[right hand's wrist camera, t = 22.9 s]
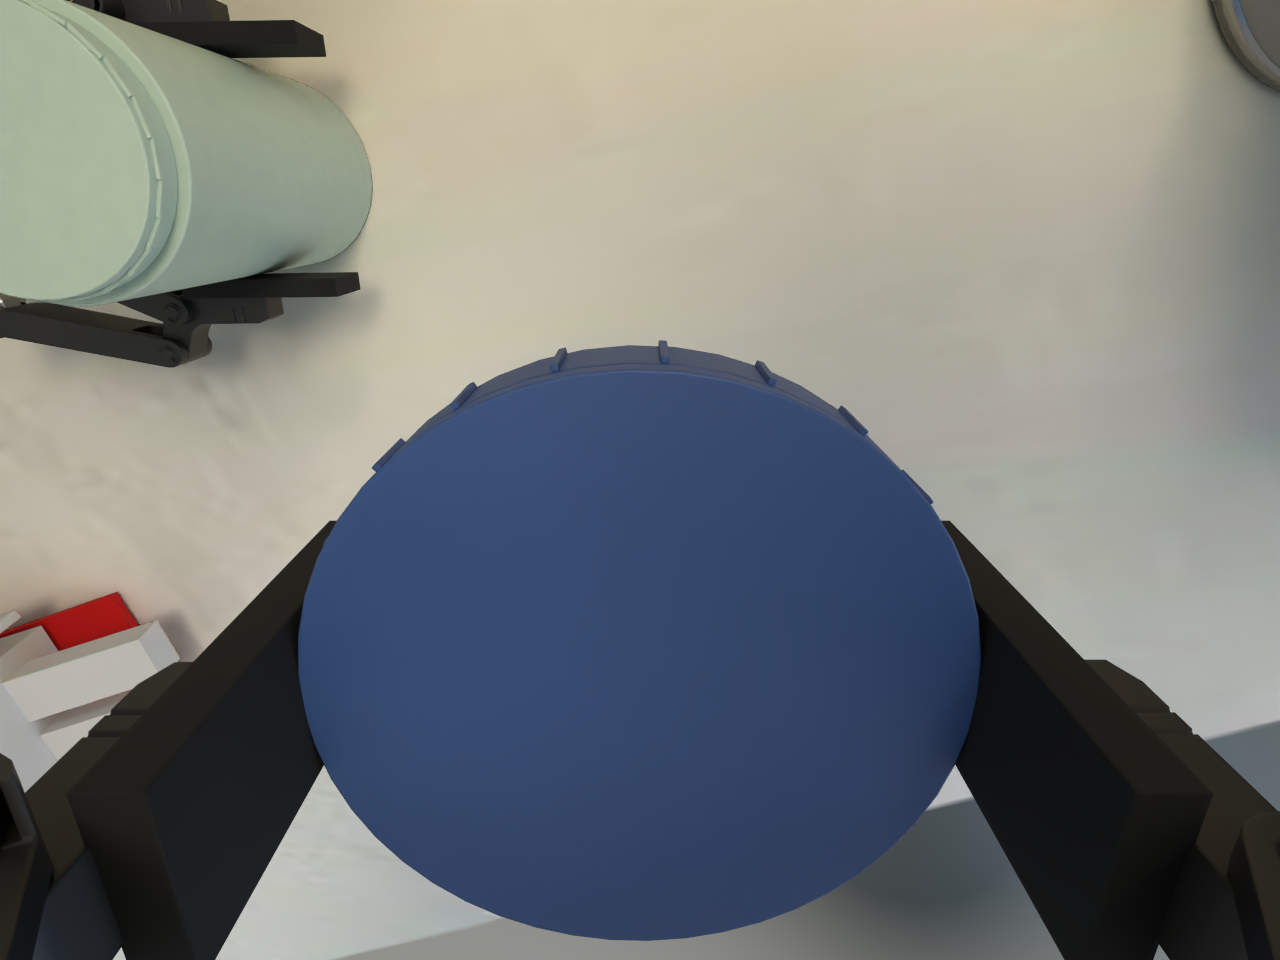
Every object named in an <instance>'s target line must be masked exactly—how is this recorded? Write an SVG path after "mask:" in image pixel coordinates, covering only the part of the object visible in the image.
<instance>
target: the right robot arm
mask: <svg viewBox="0 0 1280 960" xmlns="http://www.w3.org/2000/svg"><path fill="white" fill-rule="evenodd" d="M1212 3H1213V7H1214V11H1215V15H1216V18H1217V21H1218V23H1219V26H1220V29H1221V32H1222V34H1223V36H1224V37H1225V39H1226V41H1227V43H1228V45H1229V47H1230V48H1231V50H1232V51H1233V53H1234V54H1235V56H1236V57H1237V59H1238V60H1239V61H1240V62H1241V63H1242V64H1243V65H1244V67H1245V68H1246V69H1247V70H1248V71H1249V72H1251V73H1252V74H1253V75H1254V76H1255V77H1256V78H1257V79H1259V80H1260V81H1262V82H1263V83H1265V84H1266V85H1268V86H1269V87H1271V88H1273V89H1275V90H1277V91H1279V92H1280V0H1212ZM941 522H942V524H943V525H944V527H945V528H946V530H947V532H948V533H949V535H950V537H951V538H952V540H953V541H954V544H955V546H956V549H957V551H958V553H959V556H960V558H961V561H962V563H963V565H964V568H965V570H966V573H967V575H968V577H969V580H970V585H971V589H972V593H973V597H974V601H975V606H976V610H977V614H978V620H979V634H980V648H981V665H980V676H979V687H978V693H977V698H976V703H975V708H974V712H973V717H972V721H971V725H970V729H969V732H968V734H967V737H966V739H965V742H964V744H963V747H962V749H961V751H960V754H959V756H958V759H957V761H956V764H955V765H956V766H957V768H958V770H959V772H960V774H961V775H962V777H963V779H964V781H965V783H966V784H967V786H968V788H969V790H970V792H971V793H972V795H973V797H974V799H975V800H976V802H977V804H978V806H979V808H980V809H981V811H982V813H983V815H984V817H985V818H986V820H987V822H988V824H989V825H990V827H991V829H992V831H993V833H994V834H995V836H996V838H997V840H998V842H999V843H1000V845H1001V847H1002V849H1003V851H1004V852H1005V854H1006V856H1007V858H1008V859H1009V861H1010V863H1011V865H1012V867H1013V868H1014V870H1015V872H1016V874H1017V876H1018V877H1019V879H1020V881H1021V883H1022V884H1023V886H1024V888H1025V890H1026V892H1027V893H1028V895H1029V897H1030V899H1031V900H1032V902H1033V904H1034V906H1035V908H1036V910H1037V911H1038V913H1039V915H1040V917H1041V919H1042V920H1043V922H1044V924H1045V926H1046V927H1047V929H1048V931H1049V933H1050V935H1051V936H1052V938H1053V940H1054V942H1055V943H1056V945H1057V947H1058V949H1059V951H1060V952H1061V954H1062V956H1063V958H1064V960H1153V959H1154V956H1155V953H1156V950H1157V947H1158V945H1160V946H1161V948H1162V949H1163V950H1164V952H1165V953H1166V955H1167V956H1168V958H1169V959H1170V960H1280V811H1277V810H1276V809H1275V808H1274V807H1273V806H1272V805H1271V804H1270V803H1269V802H1268V801H1267V800H1266V799H1265V798H1264V797H1262V796H1261V795H1260V794H1259V793H1258V792H1257V791H1256V790H1255V789H1254V788H1253V787H1252V786H1251V785H1250V784H1249V783H1248V782H1247V781H1246V780H1245V779H1244V778H1243V777H1242V776H1241V775H1240V774H1238V773H1237V772H1236V771H1235V770H1234V769H1233V768H1232V767H1231V766H1230V765H1229V764H1228V763H1227V762H1226V761H1225V760H1224V759H1223V758H1222V757H1221V756H1220V755H1219V754H1218V753H1217V752H1216V751H1215V750H1213V749H1212V748H1211V747H1210V746H1209V745H1208V744H1207V743H1206V742H1205V741H1204V740H1203V739H1202V738H1201V737H1200V736H1199V735H1193V733H1192V728H1190V727H1189V726H1188V725H1187V724H1186V723H1185V722H1184V721H1183V720H1182V719H1181V718H1180V717H1179V716H1178V715H1177V714H1176V713H1171V712H1170V710H1169V706H1168V705H1166V704H1165V703H1164V702H1163V701H1162V700H1161V699H1160V698H1159V697H1158V696H1157V695H1156V694H1155V693H1154V692H1153V691H1152V690H1151V689H1150V688H1149V687H1148V686H1147V685H1146V684H1145V683H1143V682H1142V681H1141V680H1139V679H1137V678H1136V677H1134V676H1132V675H1130V674H1129V673H1127V672H1125V671H1124V670H1122V669H1120V668H1119V667H1117V666H1115V665H1114V664H1112V663H1110V662H1108V661H1107V660H1084V659H1083V658H1082V657H1081V656H1080V655H1079V654H1078V653H1077V652H1076V651H1075V650H1074V649H1073V648H1072V647H1071V646H1070V645H1069V644H1068V643H1067V642H1066V641H1065V640H1064V639H1063V638H1062V636H1061V635H1060V634H1059V633H1058V632H1057V631H1056V630H1055V629H1054V628H1053V627H1052V626H1051V625H1050V624H1049V623H1048V622H1047V621H1046V620H1045V619H1044V618H1043V617H1042V616H1041V615H1040V614H1039V613H1038V612H1037V611H1036V610H1035V609H1034V608H1033V606H1032V605H1031V604H1030V603H1029V602H1028V601H1027V600H1026V599H1025V598H1024V597H1023V596H1022V595H1021V594H1020V593H1019V592H1018V591H1017V590H1016V589H1015V588H1014V587H1013V586H1012V585H1011V584H1010V583H1009V582H1008V581H1007V580H1006V579H1005V578H1004V576H1003V575H1002V574H1001V573H1000V572H999V571H998V570H997V569H996V568H995V567H994V566H993V565H992V564H991V563H990V562H989V561H988V560H987V559H986V558H985V557H984V556H983V555H982V554H981V553H980V552H979V551H978V550H977V549H976V548H975V547H974V545H973V544H972V543H971V542H970V541H969V540H968V539H967V538H966V537H965V536H964V535H963V534H962V533H961V532H960V531H959V530H958V529H957V528H956V527H955V526H954V525H953V524H952V523H951V522H950V521H941ZM335 523H336V521H329V522H328V523H327V524H326V525H325V526H324V527H323V528H322V529H321V530H320V532H319V533H318V534H317V535H316V536H315V537H314V538H313V539H312V540H311V541H310V542H309V543H308V544H307V545H306V546H305V547H304V548H303V549H302V550H301V551H300V552H299V553H298V554H297V555H296V556H295V557H294V558H293V559H292V560H291V561H290V563H289V564H288V565H287V566H286V567H285V568H284V569H283V570H282V571H281V572H280V573H279V574H278V575H277V576H276V577H275V578H274V579H273V580H272V581H271V582H270V583H269V584H268V585H267V586H266V587H265V588H264V589H263V590H262V591H261V593H260V594H259V595H258V596H257V597H256V598H255V599H254V600H253V601H252V602H251V603H250V604H249V605H248V606H247V607H246V608H245V609H244V610H243V611H242V612H241V613H240V614H239V615H238V616H237V617H236V618H235V619H234V620H233V621H232V623H231V624H230V625H229V626H228V627H227V628H226V629H225V630H224V631H223V632H222V633H221V634H220V635H219V636H218V637H217V638H216V639H215V640H214V641H213V642H212V643H211V644H210V645H209V646H208V647H207V648H206V649H205V650H204V651H203V652H202V654H201V655H200V656H199V657H198V658H197V659H196V660H195V661H194V662H174V663H172V664H171V665H169V666H167V667H166V668H164V669H162V670H161V671H159V672H157V673H156V674H154V675H152V676H151V677H149V678H147V679H145V680H144V681H142V682H140V683H139V684H137V685H136V686H135V687H134V688H133V689H132V690H131V691H130V692H129V693H128V694H127V695H126V696H125V697H124V698H123V699H122V700H121V701H120V702H119V703H118V704H116V705H115V706H114V707H113V708H112V709H111V713H110V715H105V716H104V717H103V718H102V719H101V720H100V721H99V722H98V723H97V724H96V725H95V726H94V727H93V728H92V729H91V730H89V731H88V736H87V737H82V738H81V739H80V740H79V741H78V742H77V743H76V744H75V745H74V746H73V747H72V748H71V749H70V750H69V751H68V752H67V753H66V754H65V755H64V756H63V757H61V758H60V759H59V760H58V761H57V762H56V763H55V764H54V765H53V766H52V767H51V768H50V769H49V770H48V771H47V772H46V773H45V774H44V775H43V776H42V777H41V778H40V779H39V780H38V781H37V782H36V783H34V784H33V785H32V786H31V787H30V788H29V789H28V790H27V791H26V792H24V790H23V787H22V784H21V782H20V779H19V777H18V774H17V772H16V769H15V767H14V764H13V761H12V760H11V759H9V758H8V757H6V756H4V755H3V754H1V753H0V960H113V958H114V957H115V955H116V954H117V952H118V951H119V949H120V948H121V947H122V949H123V952H124V955H125V958H126V960H215V959H216V957H217V955H218V953H219V952H220V950H221V948H222V946H223V944H224V943H225V941H226V939H227V937H228V936H229V934H230V932H231V930H232V928H233V927H234V925H235V923H236V921H237V919H238V918H239V916H240V914H241V912H242V910H243V909H244V907H245V905H246V903H247V902H248V900H249V898H250V896H251V894H252V893H253V891H254V889H255V887H256V885H257V884H258V882H259V880H260V878H261V876H262V875H263V873H264V871H265V869H266V868H267V866H268V864H269V862H270V860H271V859H272V857H273V855H274V853H275V851H276V850H277V848H278V846H279V844H280V843H281V841H282V839H283V837H284V835H285V834H286V832H287V830H288V828H289V826H290V825H291V823H292V821H293V819H294V817H295V816H296V814H297V812H298V810H299V809H300V807H301V805H302V803H303V801H304V800H305V798H306V796H307V794H308V792H309V791H310V789H311V787H312V785H313V783H314V782H315V780H316V778H317V776H318V775H319V773H320V771H321V769H322V767H323V766H324V763H323V761H322V759H321V757H320V755H319V753H318V751H317V749H316V747H315V744H314V741H313V738H312V735H311V731H310V728H309V725H308V721H307V717H306V713H305V708H304V702H303V697H302V692H301V687H300V681H299V676H298V634H299V627H300V621H301V615H302V609H303V603H304V597H305V594H306V591H307V588H308V585H309V582H310V579H311V576H312V573H313V570H314V567H315V564H316V561H317V558H318V556H319V554H320V552H321V550H322V548H323V544H324V541H325V539H326V538H327V537H328V536H329V535H330V533H331V531H332V529H333V527H334V525H335Z"/></svg>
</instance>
